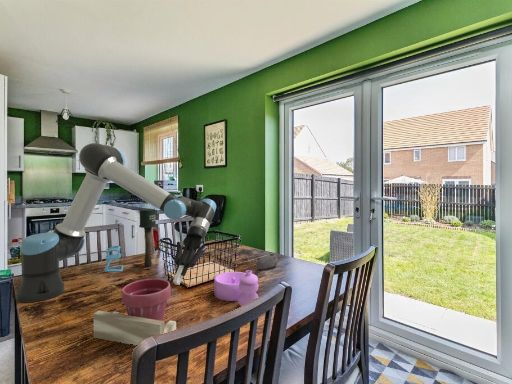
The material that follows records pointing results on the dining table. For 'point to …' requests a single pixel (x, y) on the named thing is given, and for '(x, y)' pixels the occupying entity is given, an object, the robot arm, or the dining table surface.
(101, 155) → the robot arm
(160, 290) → the plant pot
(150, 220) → the potato masher grenade
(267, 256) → the perforated stone tool
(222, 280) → the container set
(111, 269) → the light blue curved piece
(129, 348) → the dining table surface
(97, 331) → the corner stop
